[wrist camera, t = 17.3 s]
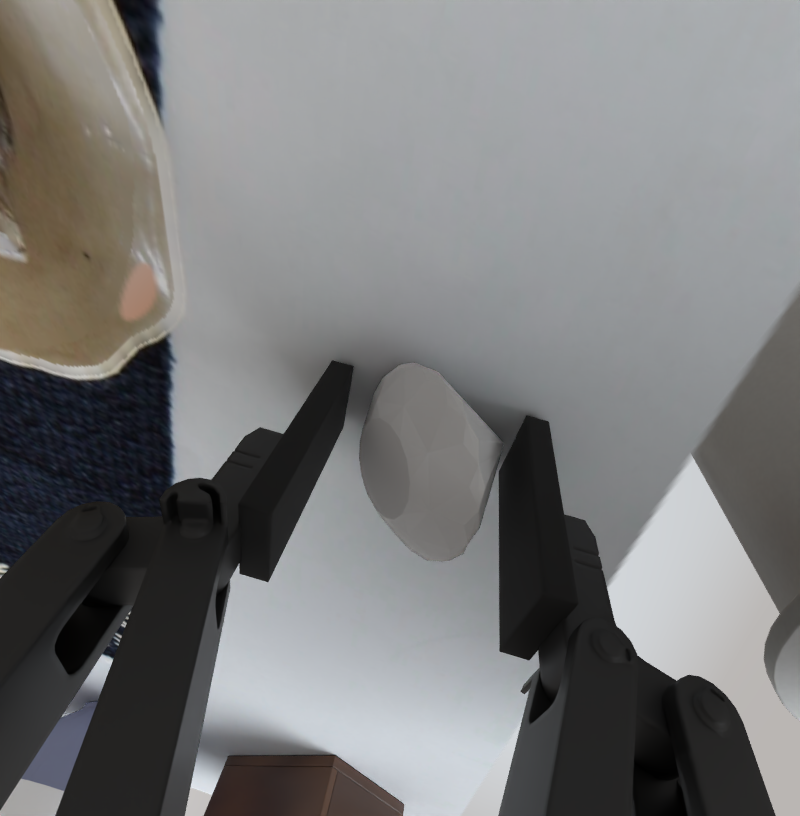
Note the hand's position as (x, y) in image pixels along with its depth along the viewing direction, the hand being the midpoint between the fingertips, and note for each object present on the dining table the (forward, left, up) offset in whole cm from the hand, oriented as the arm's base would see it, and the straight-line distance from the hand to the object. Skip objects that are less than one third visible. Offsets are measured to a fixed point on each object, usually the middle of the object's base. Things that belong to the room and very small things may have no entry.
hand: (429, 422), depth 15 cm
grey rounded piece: (0, 0, 0) cm, 1 cm away
